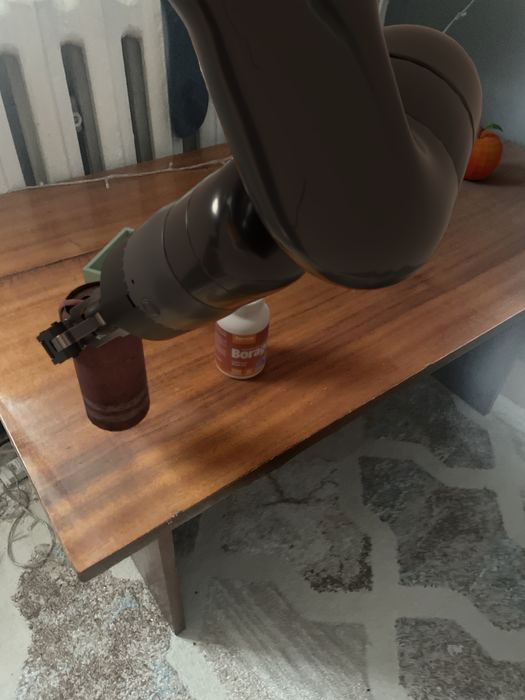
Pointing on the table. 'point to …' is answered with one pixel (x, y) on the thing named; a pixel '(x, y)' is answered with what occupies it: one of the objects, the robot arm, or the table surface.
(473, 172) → the fruit
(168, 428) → the table surface
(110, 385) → the can
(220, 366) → the pill bottle
